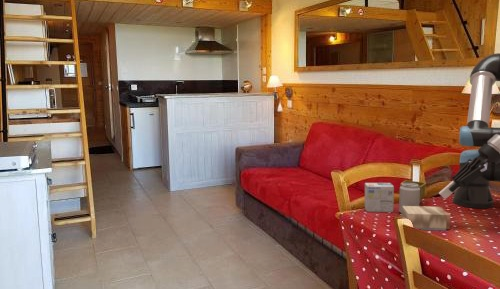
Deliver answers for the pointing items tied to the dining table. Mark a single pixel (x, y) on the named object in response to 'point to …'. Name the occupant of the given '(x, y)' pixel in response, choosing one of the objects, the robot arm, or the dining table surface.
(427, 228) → the mat
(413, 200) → the can
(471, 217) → the dining table surface
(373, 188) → the light bulb box
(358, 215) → the dining table surface
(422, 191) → the flower pot
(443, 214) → the birch block
